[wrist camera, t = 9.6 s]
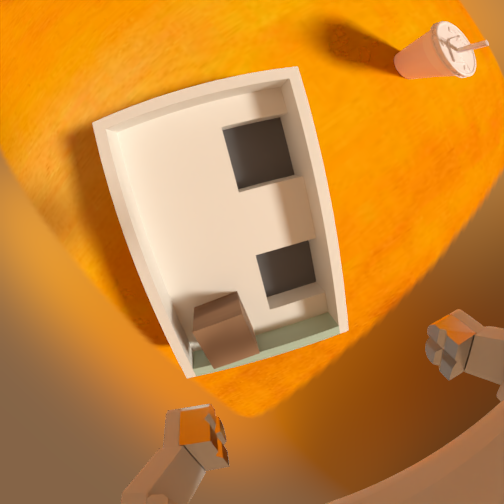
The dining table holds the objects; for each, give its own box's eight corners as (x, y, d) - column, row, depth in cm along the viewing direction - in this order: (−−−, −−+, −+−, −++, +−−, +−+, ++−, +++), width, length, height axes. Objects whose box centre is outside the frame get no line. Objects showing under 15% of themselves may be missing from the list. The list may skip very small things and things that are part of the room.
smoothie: (377, 65, 25) (461, 31, 12) (393, 34, 24) (469, -2, 11) (415, 99, 27) (502, 85, 14) (429, 66, 26) (507, 47, 13)
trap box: (114, 130, 24) (92, 122, 18) (280, 84, 25) (297, 66, 19) (189, 344, 32) (187, 378, 26) (327, 304, 33) (348, 330, 27)
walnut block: (194, 307, 27) (192, 332, 23) (236, 291, 28) (242, 314, 23) (212, 341, 29) (213, 369, 25) (252, 327, 29) (260, 353, 25)
